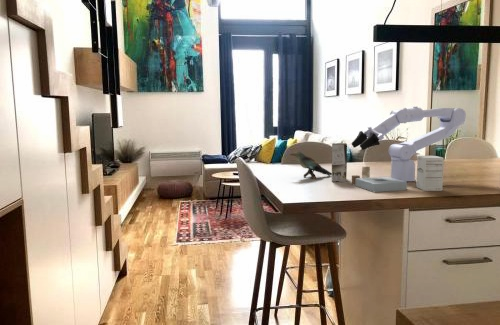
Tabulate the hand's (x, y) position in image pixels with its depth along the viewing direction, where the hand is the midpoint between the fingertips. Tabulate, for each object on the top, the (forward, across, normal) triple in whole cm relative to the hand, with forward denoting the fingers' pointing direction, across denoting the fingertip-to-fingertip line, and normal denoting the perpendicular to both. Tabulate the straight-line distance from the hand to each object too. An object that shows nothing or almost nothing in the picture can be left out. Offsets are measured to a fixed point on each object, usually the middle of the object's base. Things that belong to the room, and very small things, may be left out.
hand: (356, 146), depth 176 cm
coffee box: (+12, -7, +11) cm, 18 cm away
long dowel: (+4, 0, +15) cm, 16 cm away
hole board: (+5, +15, +14) cm, 21 cm away
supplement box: (-8, +22, +23) cm, 33 cm away
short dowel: (+10, +4, +12) cm, 16 cm away
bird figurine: (+20, -18, +6) cm, 28 cm away
